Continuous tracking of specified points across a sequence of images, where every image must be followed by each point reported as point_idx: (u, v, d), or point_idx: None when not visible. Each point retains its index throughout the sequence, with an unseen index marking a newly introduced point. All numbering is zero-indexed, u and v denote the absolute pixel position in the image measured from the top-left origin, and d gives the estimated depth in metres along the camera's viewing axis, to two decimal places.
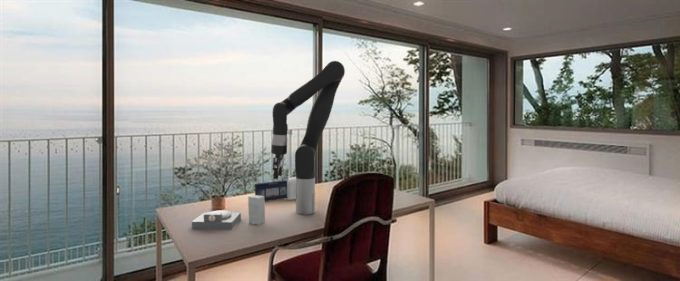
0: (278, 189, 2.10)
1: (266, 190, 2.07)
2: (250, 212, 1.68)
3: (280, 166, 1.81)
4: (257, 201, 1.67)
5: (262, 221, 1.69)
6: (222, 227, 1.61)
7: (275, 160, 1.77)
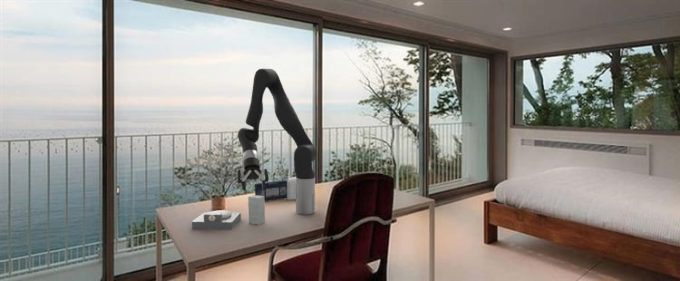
0: (278, 189, 2.10)
1: (266, 190, 2.07)
2: (250, 212, 1.68)
3: (246, 177, 1.78)
4: (257, 201, 1.67)
5: (262, 221, 1.69)
6: (222, 227, 1.61)
7: None
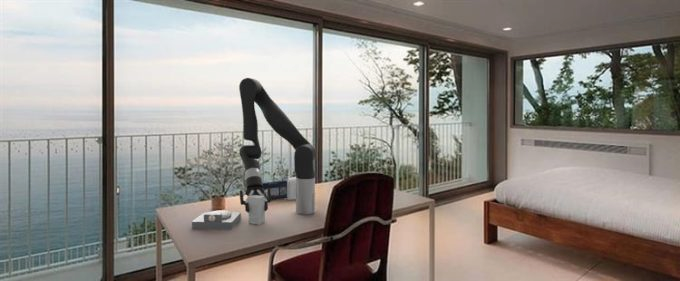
0: (278, 189, 2.10)
1: None
2: (250, 212, 1.68)
3: None
4: (257, 201, 1.67)
5: (262, 221, 1.69)
6: (222, 227, 1.61)
7: None
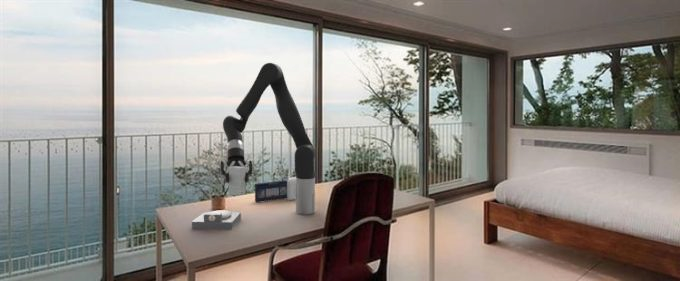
0: (278, 189, 2.10)
1: (266, 190, 2.07)
2: (231, 182, 1.67)
3: None
4: (238, 172, 1.65)
5: (242, 192, 1.68)
6: (222, 227, 1.61)
7: None
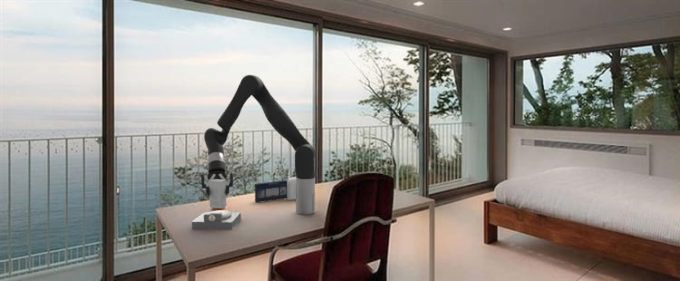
0: (278, 189, 2.10)
1: (266, 190, 2.07)
2: (211, 195, 1.67)
3: None
4: (218, 185, 1.66)
5: (223, 205, 1.68)
6: (222, 227, 1.61)
7: (201, 178, 1.70)
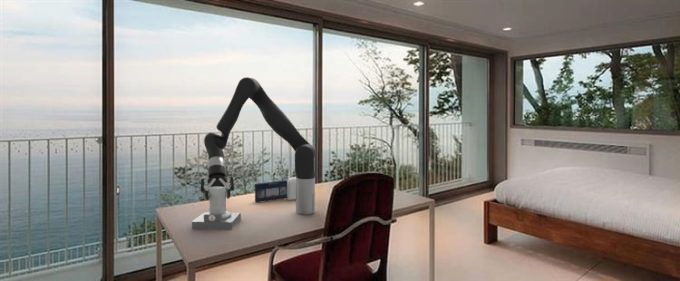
0: (278, 189, 2.10)
1: (266, 190, 2.07)
2: (211, 203, 1.68)
3: (210, 186, 1.69)
4: (218, 192, 1.66)
5: (223, 212, 1.68)
6: (222, 227, 1.61)
7: (201, 182, 1.71)
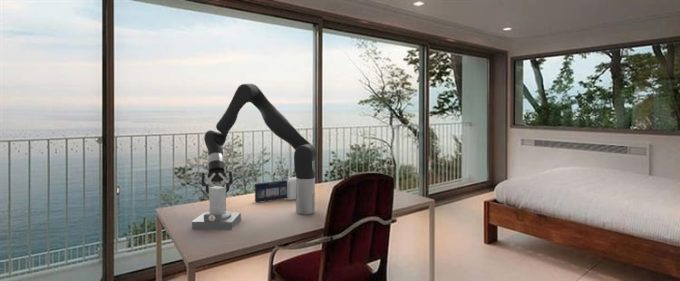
0: (278, 189, 2.10)
1: (266, 190, 2.07)
2: (211, 203, 1.68)
3: (210, 180, 1.81)
4: (218, 192, 1.66)
5: (223, 212, 1.68)
6: (222, 227, 1.61)
7: None
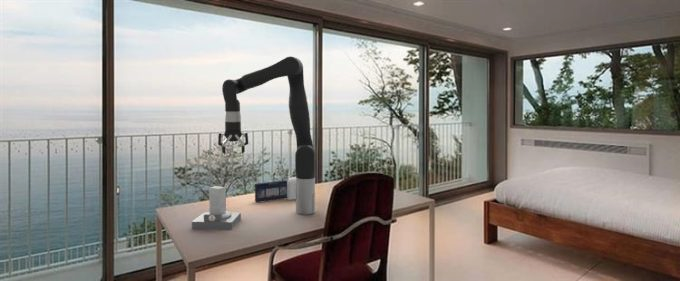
0: (278, 189, 2.10)
1: (266, 190, 2.07)
2: (211, 203, 1.68)
3: (226, 142, 1.85)
4: (218, 192, 1.66)
5: (223, 212, 1.68)
6: (222, 227, 1.61)
7: (218, 135, 1.85)
